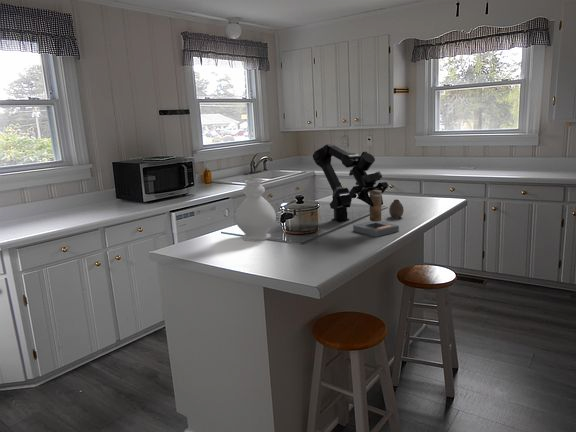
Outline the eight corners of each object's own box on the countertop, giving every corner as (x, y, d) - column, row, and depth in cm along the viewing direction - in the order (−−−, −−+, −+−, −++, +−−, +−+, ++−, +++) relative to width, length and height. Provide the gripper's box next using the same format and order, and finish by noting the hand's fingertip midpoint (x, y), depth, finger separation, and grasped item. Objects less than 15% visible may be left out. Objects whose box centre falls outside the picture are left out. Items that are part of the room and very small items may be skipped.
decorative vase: (248, 245, 191) (244, 185, 186) (229, 236, 206) (225, 181, 200) (284, 237, 201) (282, 180, 195) (263, 229, 215) (260, 176, 210)
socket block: (353, 230, 208) (353, 224, 207) (376, 225, 215) (376, 219, 214) (375, 236, 196) (375, 230, 196) (398, 231, 204) (398, 225, 203)
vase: (387, 218, 228) (387, 200, 226) (391, 215, 234) (391, 198, 232) (401, 219, 224) (401, 201, 222) (404, 216, 230) (405, 198, 228)
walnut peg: (367, 220, 203) (367, 191, 200) (371, 218, 208) (372, 189, 205) (379, 222, 201) (379, 192, 198) (383, 219, 205) (383, 190, 202)
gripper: (352, 167, 198) (369, 197, 191) (386, 163, 207) (403, 191, 200) (341, 183, 206) (357, 212, 199) (374, 179, 215) (390, 206, 208)
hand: (377, 205), depth 202 cm, fingers closed on walnut peg, 5 cm apart
